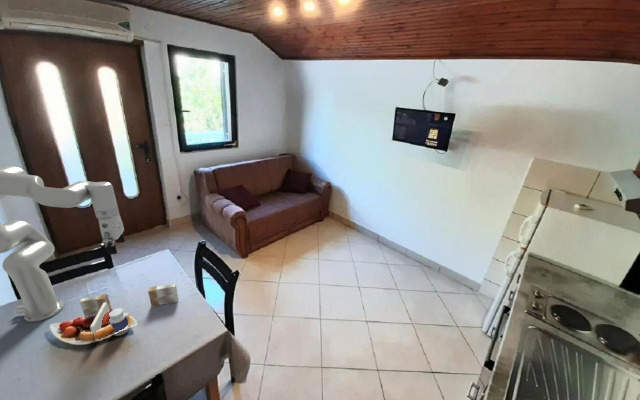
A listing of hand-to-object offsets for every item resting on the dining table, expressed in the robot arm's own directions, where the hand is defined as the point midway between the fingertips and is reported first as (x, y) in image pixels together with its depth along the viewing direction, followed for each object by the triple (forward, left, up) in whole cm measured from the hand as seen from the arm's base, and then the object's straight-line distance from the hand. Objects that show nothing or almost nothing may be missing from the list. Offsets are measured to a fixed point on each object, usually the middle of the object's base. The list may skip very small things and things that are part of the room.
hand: (116, 247), depth 114 cm
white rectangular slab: (-7, -14, -30) cm, 34 cm away
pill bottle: (+1, -17, -31) cm, 35 cm away
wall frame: (+2, -4, -30) cm, 31 cm away
